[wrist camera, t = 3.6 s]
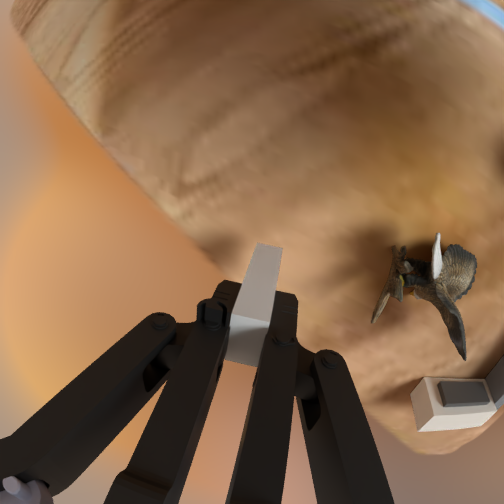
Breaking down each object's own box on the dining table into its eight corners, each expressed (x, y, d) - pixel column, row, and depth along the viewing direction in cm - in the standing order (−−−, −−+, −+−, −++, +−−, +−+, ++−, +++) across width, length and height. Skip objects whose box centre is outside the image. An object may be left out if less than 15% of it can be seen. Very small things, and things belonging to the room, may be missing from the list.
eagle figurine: (355, 317, 20) (444, 356, 19) (384, 327, 13) (493, 374, 12) (392, 225, 21) (474, 271, 19) (430, 197, 14) (527, 261, 12)
